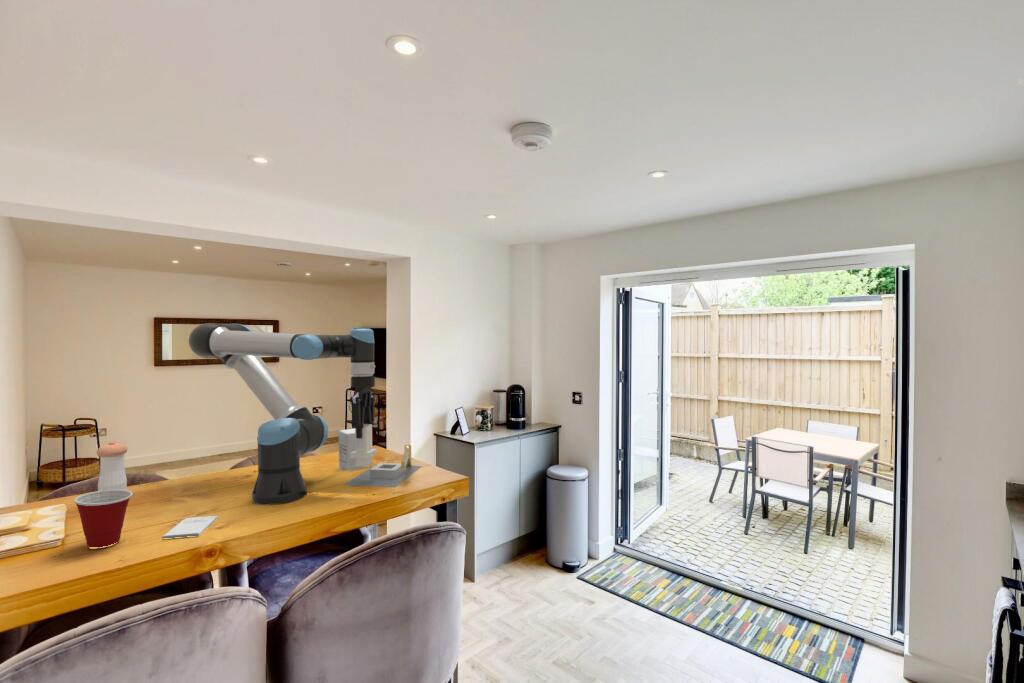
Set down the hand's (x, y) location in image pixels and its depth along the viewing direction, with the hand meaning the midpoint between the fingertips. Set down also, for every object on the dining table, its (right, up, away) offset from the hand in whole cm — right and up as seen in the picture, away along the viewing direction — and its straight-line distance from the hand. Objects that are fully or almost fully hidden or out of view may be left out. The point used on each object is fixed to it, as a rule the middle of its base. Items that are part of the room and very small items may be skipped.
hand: (363, 446), depth 162 cm
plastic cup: (-48, -14, -44) cm, 67 cm away
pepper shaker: (-69, -14, -17) cm, 72 cm away
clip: (+12, -11, +8) cm, 19 cm away
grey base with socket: (+5, -13, +8) cm, 17 cm away
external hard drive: (-34, -15, -35) cm, 51 cm away
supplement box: (-10, -14, +21) cm, 27 cm away
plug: (0, -6, 0) cm, 6 cm away
